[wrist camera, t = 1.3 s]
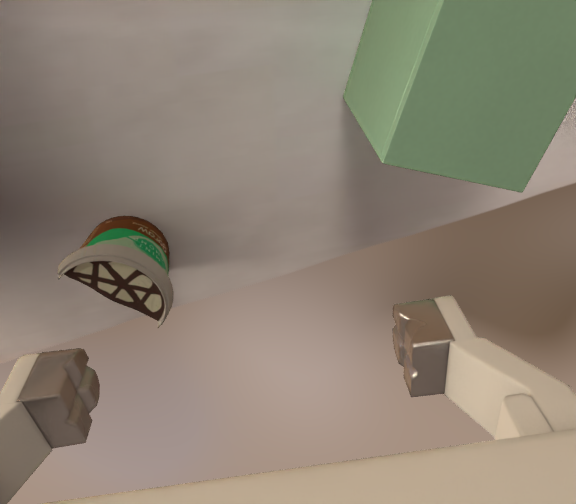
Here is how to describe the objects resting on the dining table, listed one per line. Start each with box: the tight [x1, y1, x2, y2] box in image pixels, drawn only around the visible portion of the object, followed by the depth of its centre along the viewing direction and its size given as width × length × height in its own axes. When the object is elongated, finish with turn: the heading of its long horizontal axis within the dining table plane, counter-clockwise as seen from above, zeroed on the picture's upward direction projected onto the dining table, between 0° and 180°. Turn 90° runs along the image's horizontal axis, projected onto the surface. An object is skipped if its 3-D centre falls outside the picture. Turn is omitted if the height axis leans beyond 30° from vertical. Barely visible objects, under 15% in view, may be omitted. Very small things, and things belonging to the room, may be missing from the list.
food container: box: [58, 216, 173, 328], centre depth 53 cm, size 12×6×10 cm, turn 51°
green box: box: [343, 0, 576, 192], centre depth 41 cm, size 15×13×17 cm
